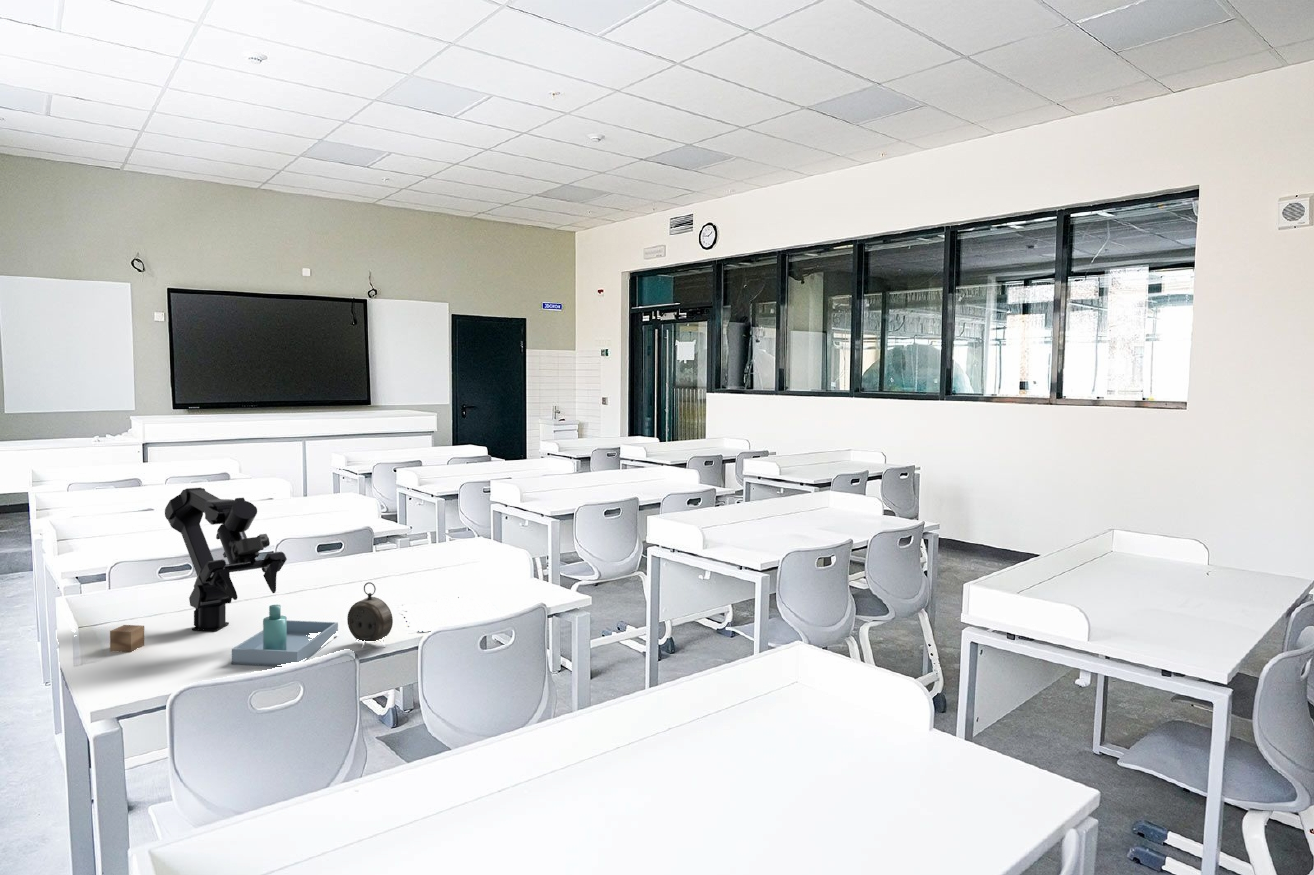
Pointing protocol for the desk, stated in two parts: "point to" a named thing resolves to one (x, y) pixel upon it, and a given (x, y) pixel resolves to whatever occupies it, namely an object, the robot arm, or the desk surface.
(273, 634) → the teal canister
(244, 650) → the tray
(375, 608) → the alarm clock
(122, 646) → the walnut cube
